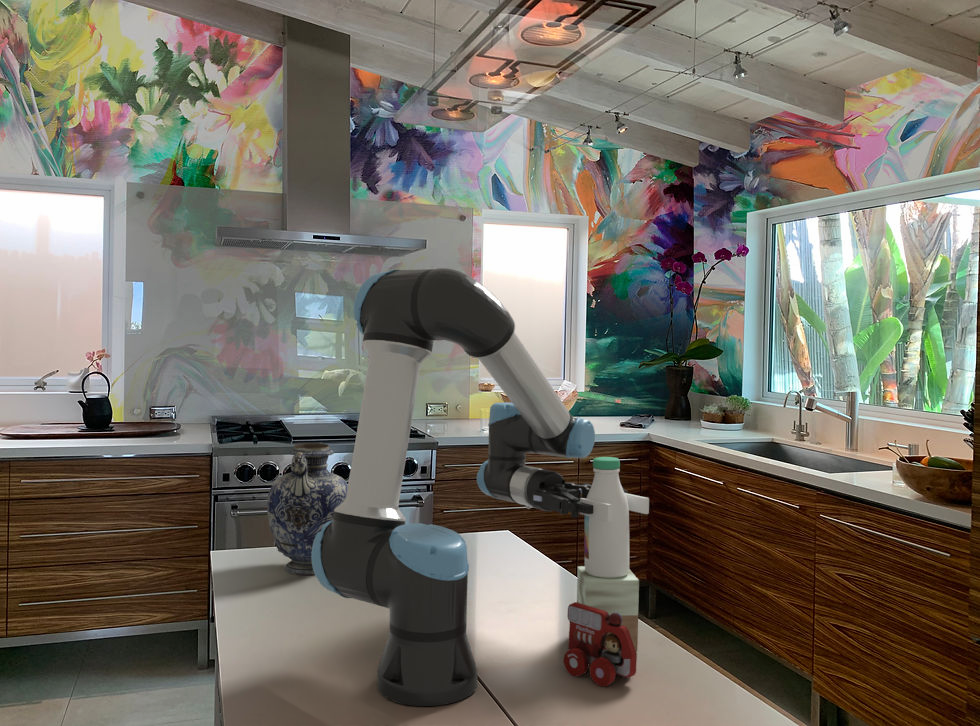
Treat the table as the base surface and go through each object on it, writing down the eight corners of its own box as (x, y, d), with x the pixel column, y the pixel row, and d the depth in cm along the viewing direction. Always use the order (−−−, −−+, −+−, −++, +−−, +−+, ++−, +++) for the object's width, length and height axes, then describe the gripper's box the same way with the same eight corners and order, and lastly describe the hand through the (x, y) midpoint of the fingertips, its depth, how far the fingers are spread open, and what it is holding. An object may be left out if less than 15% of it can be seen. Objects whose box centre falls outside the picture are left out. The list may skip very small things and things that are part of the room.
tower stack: (637, 650, 139) (638, 580, 138) (584, 650, 138) (586, 580, 138) (625, 632, 147) (627, 566, 147) (576, 632, 147) (577, 566, 146)
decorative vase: (281, 554, 195) (284, 437, 194) (358, 557, 194) (361, 440, 193) (251, 581, 173) (254, 450, 172) (338, 585, 173) (341, 453, 172)
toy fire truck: (620, 694, 122) (621, 625, 121) (554, 670, 130) (556, 605, 130) (645, 680, 127) (647, 614, 126) (580, 658, 135) (582, 595, 135)
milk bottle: (638, 571, 142) (637, 457, 142) (612, 582, 137) (612, 463, 136) (601, 563, 148) (601, 453, 147) (575, 573, 142) (575, 458, 141)
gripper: (578, 501, 163) (669, 523, 145) (495, 515, 149) (583, 540, 132) (579, 464, 163) (670, 481, 145) (495, 474, 149) (584, 494, 131)
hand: (628, 509), depth 138 cm, fingers open, 9 cm apart
